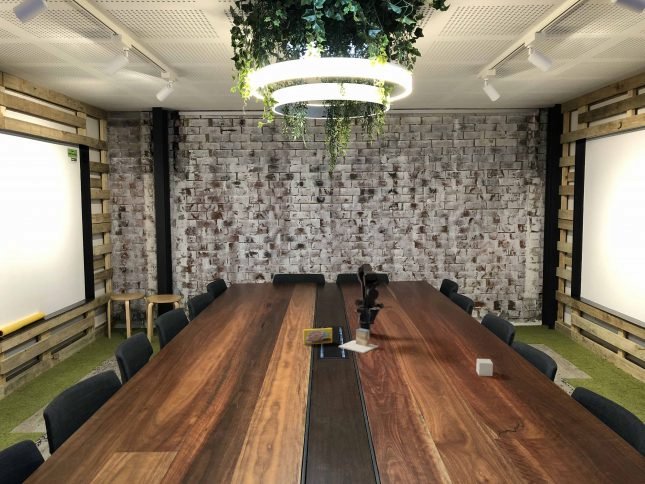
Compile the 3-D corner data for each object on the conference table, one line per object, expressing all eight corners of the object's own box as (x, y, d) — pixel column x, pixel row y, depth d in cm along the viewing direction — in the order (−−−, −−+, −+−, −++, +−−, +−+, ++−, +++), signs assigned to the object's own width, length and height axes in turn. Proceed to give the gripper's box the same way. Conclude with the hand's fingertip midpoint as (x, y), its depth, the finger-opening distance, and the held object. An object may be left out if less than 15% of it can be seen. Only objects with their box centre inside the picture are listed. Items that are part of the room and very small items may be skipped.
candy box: (303, 345, 272) (303, 330, 271) (303, 344, 274) (303, 329, 273) (332, 342, 276) (332, 328, 275) (331, 341, 278) (331, 327, 277)
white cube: (476, 371, 234) (476, 358, 234) (489, 371, 234) (489, 359, 233) (478, 375, 228) (479, 362, 228) (492, 376, 228) (492, 363, 227)
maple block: (360, 342, 275) (360, 328, 274) (369, 344, 271) (369, 330, 270) (355, 343, 272) (356, 329, 271) (365, 346, 268) (365, 331, 267)
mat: (353, 341, 279) (353, 340, 279) (377, 347, 269) (377, 345, 269) (338, 347, 268) (338, 346, 268) (363, 353, 258) (363, 352, 258)
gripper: (367, 290, 286) (367, 317, 288) (348, 296, 272) (348, 323, 274) (384, 293, 279) (383, 320, 281) (365, 298, 265) (365, 327, 267)
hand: (370, 323), depth 276 cm, fingers open, 5 cm apart
